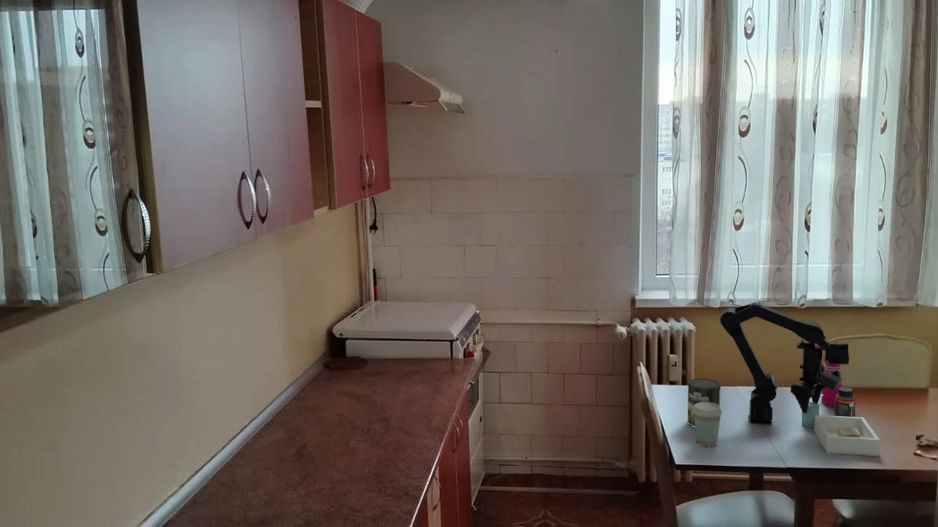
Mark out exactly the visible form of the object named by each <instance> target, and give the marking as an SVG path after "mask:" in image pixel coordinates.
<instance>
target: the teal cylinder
mask: <svg viewBox="0 0 938 527" xmlns="http://www.w3.org/2000/svg"><path fill="white" fill-rule="evenodd" d="M815 415H820V404H819V403H818V404H817V403H814V402H813V401H809V405H808V410H807V413H803V412H802V411H801V426H802V427H804V428H806V429H807V428H808V429H814V421H815Z"/></svg>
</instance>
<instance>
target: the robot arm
mask: <svg viewBox="0 0 938 527" xmlns="http://www.w3.org/2000/svg"><path fill="white" fill-rule="evenodd" d="M753 318H759V319H760V320H761V319H762V320H764V321H766V322H769V323H771V324H773V325H776V326H778V327H781V328H783V329H786V330H789V331H791V332H792V333H794V334H795V335H796V336H798V337H800V338H801V340H800V341H799V342H797V343H796V349H800V350H801V349H802V356H801V357H802V361H801V362H802V363H801V364H799V369H801V376H800V377H799V381H797V382H796V383H794V384H792V385H791V386H790V393H791V394H792V395H793V396H794V398H795V400H797V403H798V405H799V407H800V410H801V413H802V412H803V413H807V410H808V405H809V402H810V400H811V402H814V403H817V404H819V401H820V399H821V397H822V390H823V389H824V388H825V387H828V388H829V389H831V390H835V389H836V388H838V386H839V384H840V382H841V383H842V381H843V378H842V375H841V374H842V372H841V371H840V370H839V371H837V370H835V371H834V372H832V373H831V372H830V371H829V372H828V371H826V369H825V364H823V360H824V359H825V360H827V362H828V363H829V364H840V365H844V366H848V365H849V363H850V355H849V344H848V342H829V339H828V338H827V336H826V335H825V334H824V330H823V327H822V325H821V324H820V323H818V322H816V321H812V320H808V319H802V318H801V319H800V318H795V317H793V316H790V315H788V314H785V313H782V312H780V311H778V310H776V309H773V308H771V307H768V306H765V305H763V304H761V303H760V302H756V301H753V302H752V303H749V304H746V305H741V306H738V307H735V308H732V307H727V308H725V309H723V311H722V312H721V315H720V319H719V322H720V324H721V327H722V328H723V329H724V330H725V331H726V333H728V335H729V336H730V337H731V339H732V340H733V341H734V343H735V344H736V347H737V349H738V351H739V353H740V355H741V357H742V358H743V359H744V360H743V361H744V362H745V365H746V366H747V369H748V370H749V372H750V374H751V375H752V378H753V384H754V386H755V388H754V389H753V390H751V392H750V399H749V406H748V408H749V410H748V411H749V413H748V415H747V416H748V420H749V423H751V424H765V425H766V424H769V425H771V424H772V421H773V413H774V412H773V407H772V404H771V402H772V401H774V400H775V399H776V397H777V390H778V382H777V381H776V380H775V378H774V376H773V375H774V374H773V372H769V373H768V372H767V371H765V370H764V367H763V365H762V364H761V362H760V360H759V358H758V356H757V354H756V352H755V350H754V349H753V346H752V345H751V343H750V341H749V339H748V337H747V335H746V333H745V331H744V327H743V323H744V322H746V321H749V320H750V319H753ZM823 351H824V353H823ZM823 358H824V359H823Z"/></svg>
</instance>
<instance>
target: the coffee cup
mask: <svg viewBox="0 0 938 527" xmlns="http://www.w3.org/2000/svg"><path fill="white" fill-rule="evenodd" d="M722 412H723V411H722V409H721V405H720V406H719V405H717V404H715V403H710V402H700V403H696V404H695V406H694V408H693V413H694V421H695V428H694V429H695V438H696V443H698V444H700V445H702V446H701V447H704V446H709V447H708V448H711V447H710V446H713V447H715V445H716V446H717V443H718V436H719V431H720V430H719V429H720V426H719V423H720V422H721V415H722V414H723V413H722ZM698 444H697V445H698ZM700 445H699V446H700Z"/></svg>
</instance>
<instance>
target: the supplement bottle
mask: <svg viewBox="0 0 938 527" xmlns="http://www.w3.org/2000/svg"><path fill="white" fill-rule="evenodd" d="M853 392H854V390H853V389H852V388H851V387H842V388H839V394H837V395H836V396H835V405H834V413H833V414H834V415H833V416H845V417H856V403H857V402H856V396H854V394H853Z"/></svg>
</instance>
